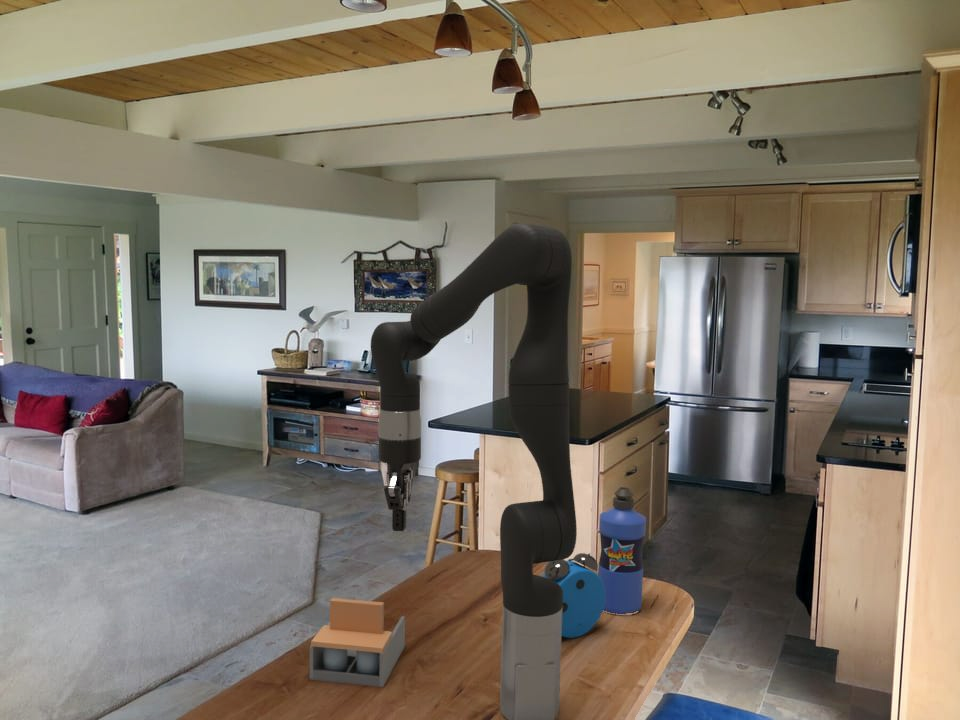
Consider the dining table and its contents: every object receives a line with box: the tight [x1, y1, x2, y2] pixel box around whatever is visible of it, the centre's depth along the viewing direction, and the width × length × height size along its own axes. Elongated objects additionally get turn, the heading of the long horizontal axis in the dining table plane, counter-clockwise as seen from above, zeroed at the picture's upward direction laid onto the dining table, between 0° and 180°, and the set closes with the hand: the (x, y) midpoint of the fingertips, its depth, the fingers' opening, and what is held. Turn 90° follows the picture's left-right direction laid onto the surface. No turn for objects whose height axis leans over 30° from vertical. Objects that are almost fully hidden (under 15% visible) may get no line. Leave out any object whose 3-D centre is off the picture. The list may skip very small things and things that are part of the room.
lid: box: [310, 597, 393, 653], centre depth 130 cm, size 6×12×6 cm, turn 81°
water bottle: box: [597, 486, 647, 614], centre depth 161 cm, size 9×9×25 cm
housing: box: [309, 615, 406, 688], centre depth 135 cm, size 14×12×7 cm
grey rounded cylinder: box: [323, 647, 348, 672], centre depth 131 cm, size 4×4×5 cm
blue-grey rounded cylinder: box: [356, 651, 380, 676], centre depth 130 cm, size 4×4×5 cm
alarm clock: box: [541, 552, 605, 639], centre depth 149 cm, size 13×6×15 cm, turn 122°
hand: (399, 529), depth 141 cm, fingers closed
